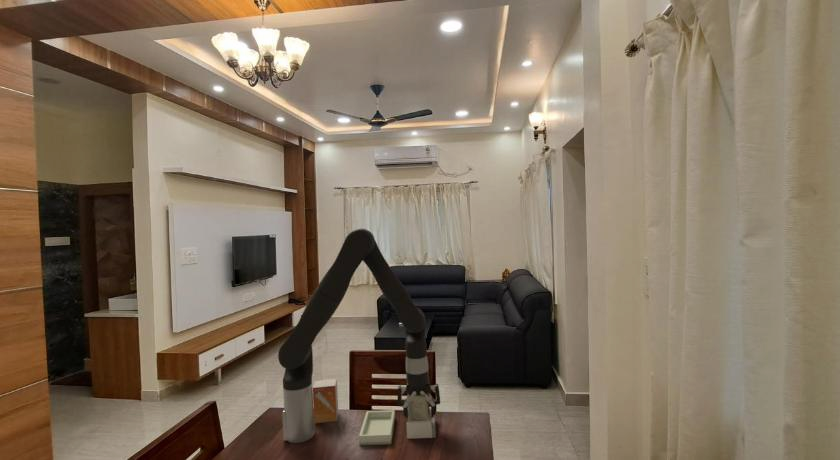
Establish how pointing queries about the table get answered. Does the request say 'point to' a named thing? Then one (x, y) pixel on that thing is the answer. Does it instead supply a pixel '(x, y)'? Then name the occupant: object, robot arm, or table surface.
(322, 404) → the small box
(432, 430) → the off-white card holder
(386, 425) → the tray
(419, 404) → the skincare box
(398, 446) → the table surface
